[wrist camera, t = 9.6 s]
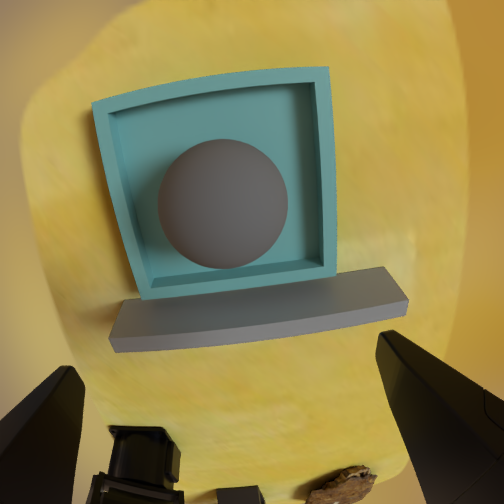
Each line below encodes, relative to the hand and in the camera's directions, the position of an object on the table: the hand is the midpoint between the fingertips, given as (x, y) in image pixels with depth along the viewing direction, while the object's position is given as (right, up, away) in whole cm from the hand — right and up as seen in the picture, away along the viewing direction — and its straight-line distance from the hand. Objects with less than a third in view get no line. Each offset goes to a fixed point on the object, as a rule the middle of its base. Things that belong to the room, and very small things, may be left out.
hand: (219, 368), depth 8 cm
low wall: (+1, +1, +13) cm, 13 cm away
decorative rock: (+15, -32, +32) cm, 48 cm away
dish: (-1, +7, +10) cm, 12 cm away
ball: (0, +5, +7) cm, 8 cm away
